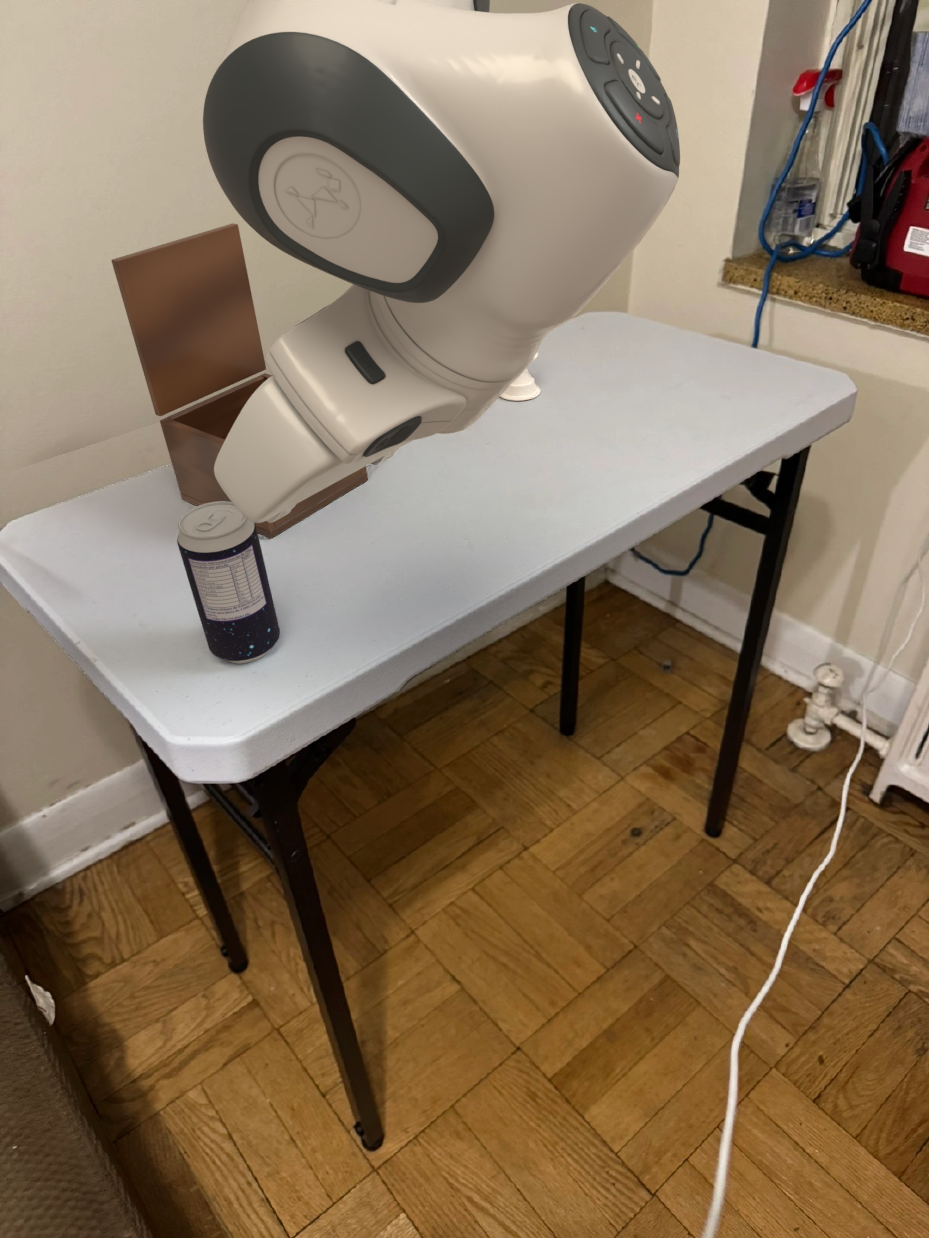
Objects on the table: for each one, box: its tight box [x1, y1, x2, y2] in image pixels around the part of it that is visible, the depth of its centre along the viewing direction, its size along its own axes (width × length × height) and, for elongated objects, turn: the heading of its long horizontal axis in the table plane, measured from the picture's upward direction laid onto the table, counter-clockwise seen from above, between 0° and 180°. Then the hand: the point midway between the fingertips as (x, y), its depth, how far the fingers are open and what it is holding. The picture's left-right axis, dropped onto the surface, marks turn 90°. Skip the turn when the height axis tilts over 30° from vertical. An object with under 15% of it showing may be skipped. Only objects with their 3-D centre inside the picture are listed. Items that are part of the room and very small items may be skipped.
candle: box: [499, 351, 542, 402], centre depth 102 cm, size 5×5×12 cm
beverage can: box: [176, 501, 281, 664], centre depth 66 cm, size 6×6×12 cm
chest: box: [159, 372, 369, 540], centre depth 87 cm, size 14×14×9 cm
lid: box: [110, 222, 267, 417], centre depth 84 cm, size 14×14×5 cm
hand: (324, 480), depth 55 cm, fingers open, 8 cm apart
